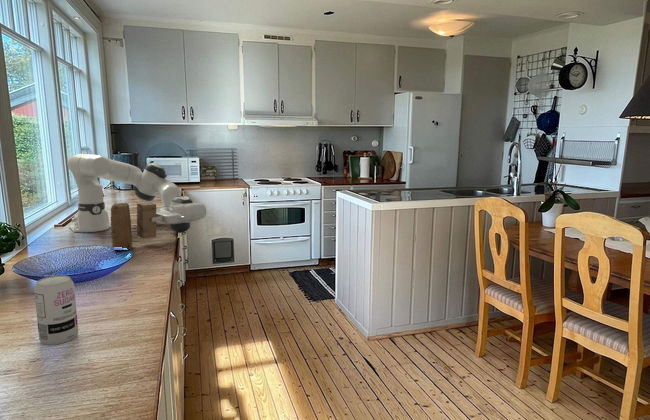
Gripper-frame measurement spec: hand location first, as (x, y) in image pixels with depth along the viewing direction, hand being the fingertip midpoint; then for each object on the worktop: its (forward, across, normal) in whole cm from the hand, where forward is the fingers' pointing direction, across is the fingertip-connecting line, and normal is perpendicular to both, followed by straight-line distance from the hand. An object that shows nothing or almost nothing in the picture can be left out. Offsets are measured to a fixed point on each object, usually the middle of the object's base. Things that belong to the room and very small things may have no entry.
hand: (147, 218), depth 191 cm
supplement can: (+58, -70, -12) cm, 92 cm away
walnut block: (0, 0, -8) cm, 8 cm away
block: (+11, +1, -12) cm, 17 cm away
